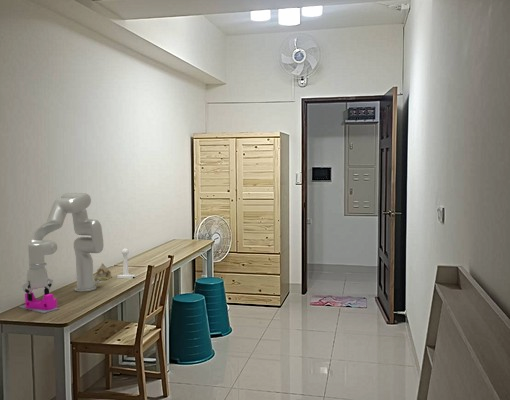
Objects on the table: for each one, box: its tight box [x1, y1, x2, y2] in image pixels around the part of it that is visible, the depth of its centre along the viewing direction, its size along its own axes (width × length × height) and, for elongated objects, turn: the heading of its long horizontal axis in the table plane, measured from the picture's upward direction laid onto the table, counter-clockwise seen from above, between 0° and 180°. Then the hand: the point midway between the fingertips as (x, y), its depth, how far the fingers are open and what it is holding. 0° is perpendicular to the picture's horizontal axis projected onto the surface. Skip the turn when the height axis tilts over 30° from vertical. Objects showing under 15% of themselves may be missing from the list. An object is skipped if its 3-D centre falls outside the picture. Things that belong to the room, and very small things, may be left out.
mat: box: [18, 304, 60, 314], centre depth 287 cm, size 9×22×1 cm, turn 55°
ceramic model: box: [93, 263, 113, 281], centre depth 359 cm, size 14×11×10 cm
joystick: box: [116, 247, 136, 278], centre depth 358 cm, size 11×8×20 cm
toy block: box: [24, 291, 58, 310], centre depth 286 cm, size 15×6×8 cm, turn 69°
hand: (38, 298), depth 287 cm, fingers open, 9 cm apart
